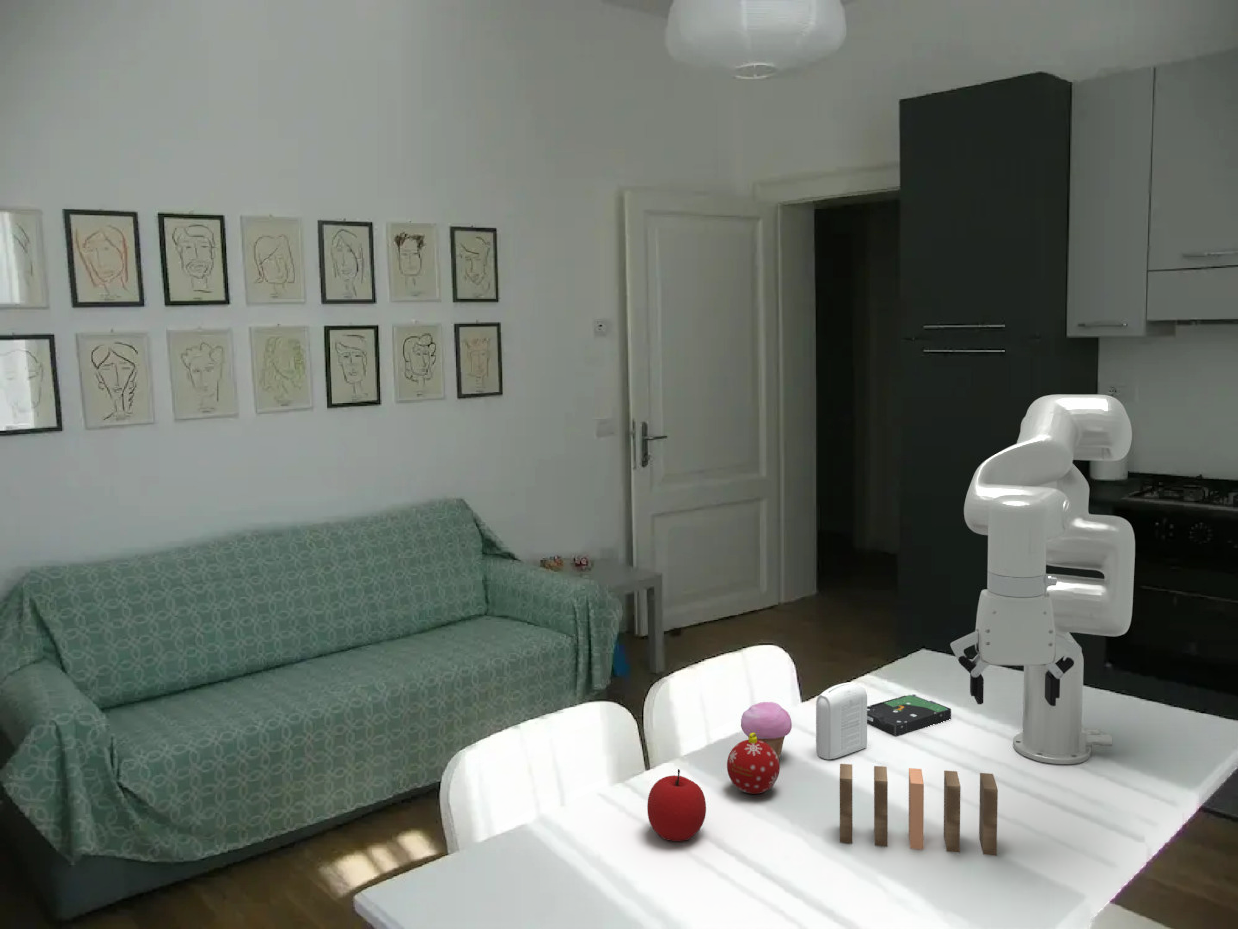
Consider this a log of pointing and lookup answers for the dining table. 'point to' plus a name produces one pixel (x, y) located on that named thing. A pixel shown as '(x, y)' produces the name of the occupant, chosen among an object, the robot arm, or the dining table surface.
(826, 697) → the photo printer
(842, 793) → the domino
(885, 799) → the domino
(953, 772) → the domino
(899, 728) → the disk drive
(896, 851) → the dining table surface
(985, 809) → the domino
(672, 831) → the apple
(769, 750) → the christmas ornament
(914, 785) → the domino
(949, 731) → the dining table surface
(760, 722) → the cupcake
